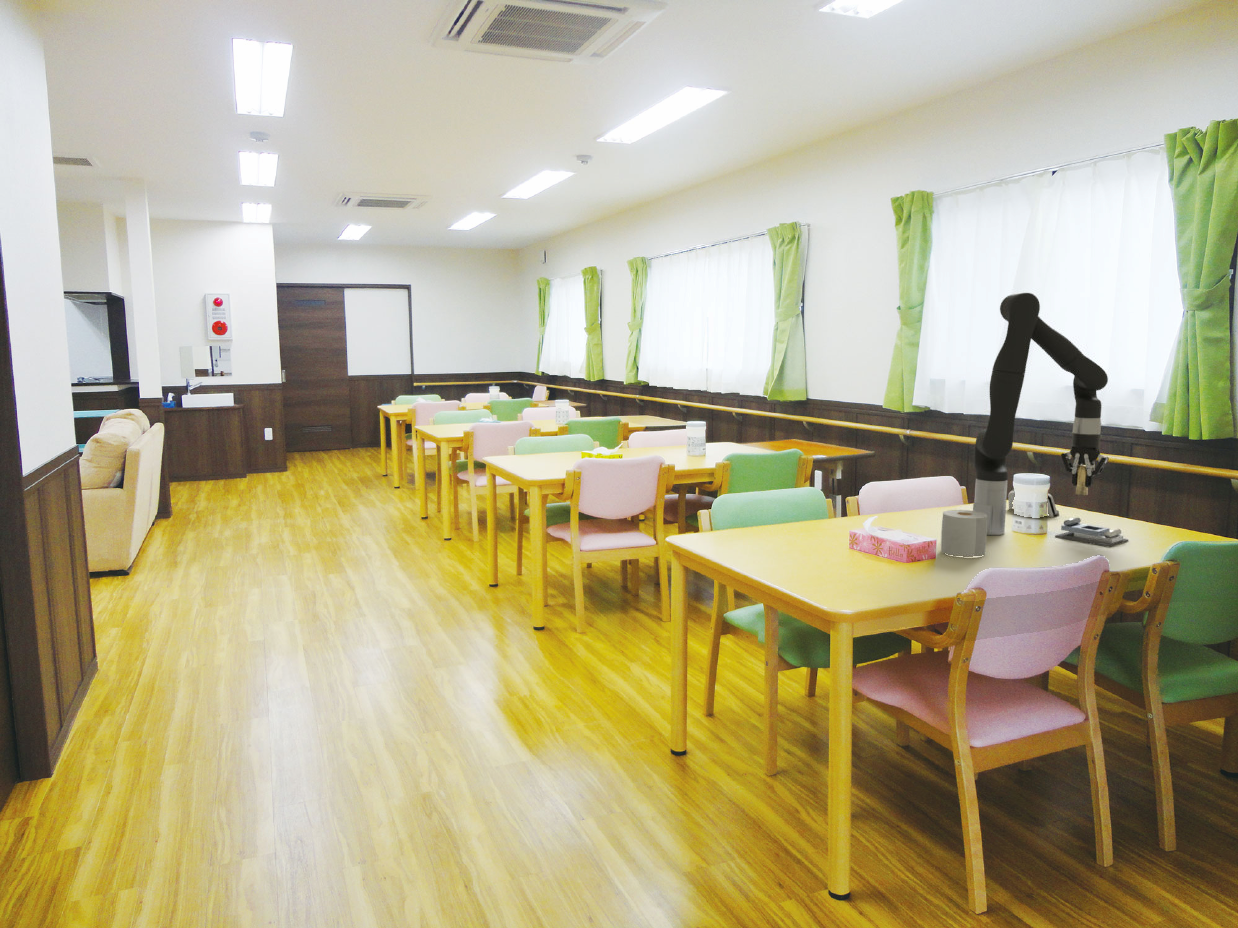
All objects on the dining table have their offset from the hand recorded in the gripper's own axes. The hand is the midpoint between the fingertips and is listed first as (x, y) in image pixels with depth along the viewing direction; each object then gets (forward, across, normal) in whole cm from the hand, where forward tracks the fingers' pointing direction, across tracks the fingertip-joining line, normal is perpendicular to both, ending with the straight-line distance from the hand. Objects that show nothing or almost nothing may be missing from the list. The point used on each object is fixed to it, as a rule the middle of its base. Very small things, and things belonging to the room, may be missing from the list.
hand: (1082, 486), depth 257 cm
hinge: (+15, -25, +19) cm, 35 cm away
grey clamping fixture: (+15, +6, -6) cm, 17 cm away
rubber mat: (+15, +6, -6) cm, 17 cm away
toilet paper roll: (+15, -9, -51) cm, 54 cm away
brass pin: (+3, 0, 0) cm, 3 cm away
